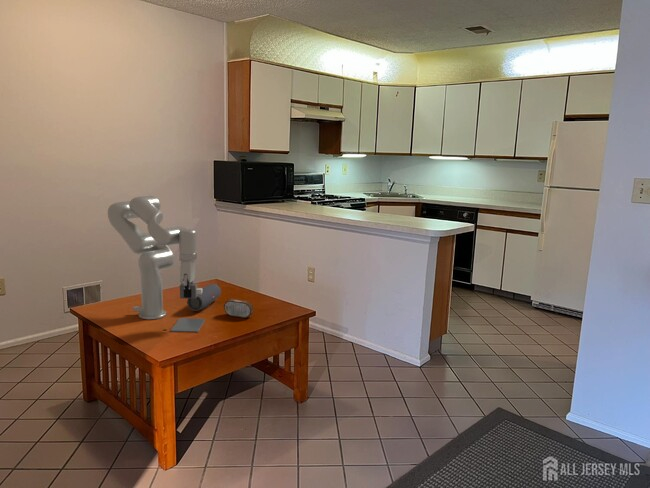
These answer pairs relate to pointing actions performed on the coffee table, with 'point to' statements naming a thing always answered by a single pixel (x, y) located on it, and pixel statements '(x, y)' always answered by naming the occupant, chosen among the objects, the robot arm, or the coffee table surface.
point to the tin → (238, 308)
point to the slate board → (187, 325)
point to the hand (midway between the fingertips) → (188, 295)
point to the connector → (193, 291)
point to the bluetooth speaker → (204, 297)
